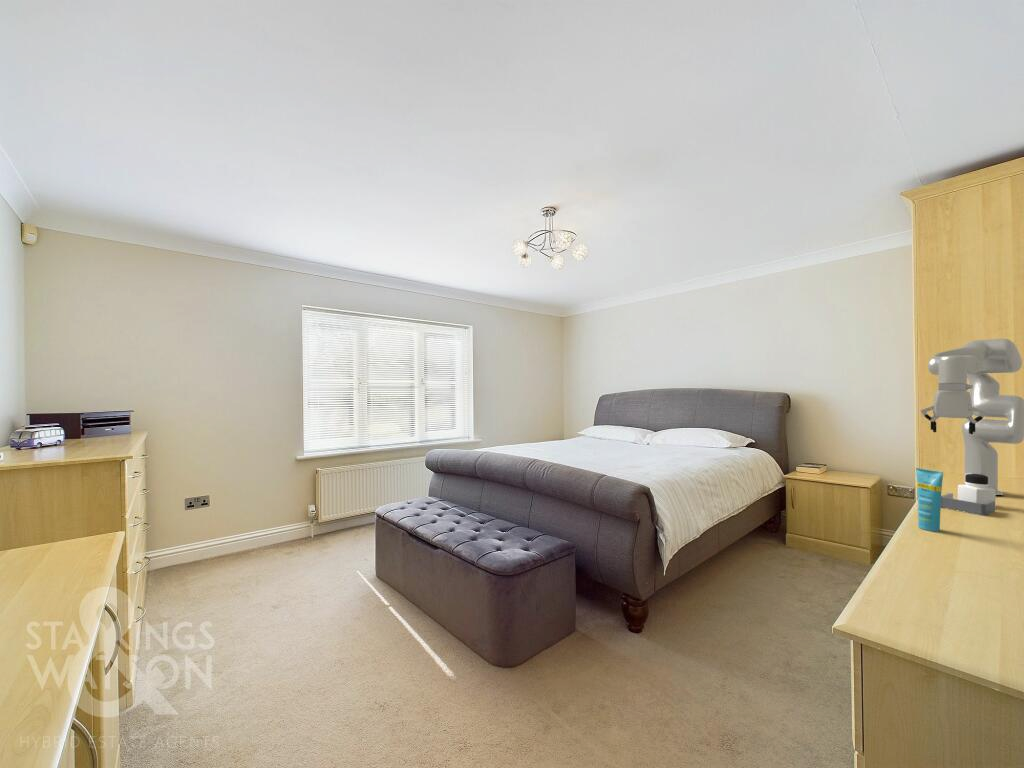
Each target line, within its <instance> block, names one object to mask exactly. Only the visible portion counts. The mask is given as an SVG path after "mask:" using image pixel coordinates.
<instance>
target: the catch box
mask: <svg viewBox="0 0 1024 768" xmlns="http://www.w3.org/2000/svg"><path fill="white" fill-rule="evenodd" d="M941 507H943V508H942V509H945V508H948V509H947V510H950V509H954V510H953V511H956V510H959V511H958V512H961V511H965V512H964V513H966V512H968V514H972V513H973V514H972V515H977V514H978V516H984V517H987V516H989V515H990V514H993V513H994V511H996V499H995V500H990V501H987V502H985V503H983V504H981V503H975V502H969V501H964V500H958V498H957V499H956V498H954V493H952V492H950V493H949V492H948V493H946V494H943V495H941Z"/></svg>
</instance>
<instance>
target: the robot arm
mask: <svg viewBox="0 0 1024 768" xmlns="http://www.w3.org/2000/svg"><path fill="white" fill-rule="evenodd" d="M1022 366H1023V360H1022V356H1021V353H1020V351H1019V350H1018V348H1017V346H1016V344H1015V343H1014V342H1013V341H1012V340H1011V339H1007V338H993V339H992V338H991V339H976V340H975V339H974V340H971V341H969V342H966V344H964V345H963V346H961V347H958V348H955V349H950V350H946V351H942V352H938V353H935V354H934V355H932V356H931V357H930V358H929V360H928V363H927V369H928V372H929V373H930V374H932V375H935V376H938V387H937V388H938V389H937V390H938V391H935V393H934V396H933V397H934V398H933V405H931V406H929V407H926V408H923V409H921V410H920V412H921V414H922V416H923V417H924V418H925V419H927V420H928V421H930V430H931V431H932V432H933V433H937V422H936V421H937V419H939V418H949V419H950V418H951V419H952V418H953V419H966V420H965V421H964V422H963V423H962V424H961V432H962V435H963V442H964V475H965V474H968V473H974V474H982V475H985V476H987V477H988V486H987V487H988V488H992V489H995V495H1001V494H1003V495H1004V492H1002V491H1000V490H998V487H999V486H998V485H999V483H998V482H999V481H998V479H999V478H998V477H999V454H998V451H997V450H996V448H994V447H993V446H992V445H991V443H996V444H1010V445H1013V444H1014V445H1017V444H1018V445H1019V444H1021V443H1022V442H1023V441H1024V398H1023V397H1021V396H1019V395H1012V394H1011V395H1010V394H1004V395H1002V394H1000V389H1001V388H1000V387H1001V386H1000V385H1001V384H1000V383H999V382H998V381H997V379H995V378H994V377H993V376H991V375H990V374H1008V373H1009V374H1012V373H1016V372H1018V371H1019V372H1020V370H1021V368H1022ZM968 382H969V384H968ZM968 390H969V391H968ZM930 411H932V413H933V416H930V415H929V414H928V412H930ZM973 416H976V417H975V418H973ZM984 417H985V418H987V419H985V418H984ZM988 418H999V419H988ZM1000 418H1001V419H1002V418H1003V420H1001V419H1000ZM1004 418H1005V419H1007V420H1004ZM964 485H966V484H965V483H964Z"/></svg>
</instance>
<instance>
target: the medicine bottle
mask: <svg viewBox="0 0 1024 768" xmlns="http://www.w3.org/2000/svg"><path fill="white" fill-rule="evenodd" d="M965 484H966V485H965ZM987 486H988V477H987V476H985V475H982V474H974V473H968V474H965V473H964V484H958V485H957V499H958V500H964V501H969V502H975V503H981V504H983V503H985V502H987V501H990V500H995V501H996V496H995V489H992V488H988V487H987Z"/></svg>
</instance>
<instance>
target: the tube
mask: <svg viewBox="0 0 1024 768" xmlns="http://www.w3.org/2000/svg"><path fill="white" fill-rule="evenodd" d="M915 469H916V471H915V472H916V481H917V487H916V488H917V506H918V507H917V508H918V509H917V511H918V512H917V513H918V514H917V517H918V519H917V520H918V522H917V523H918V528H920V529H922V530H924V531H928V532H935V531H936V532H940V529H941V509H942V508H941V496H942V491H943V490H942V489H943V478H944V471H939V470H930V469H925V468H919V467H915Z"/></svg>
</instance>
